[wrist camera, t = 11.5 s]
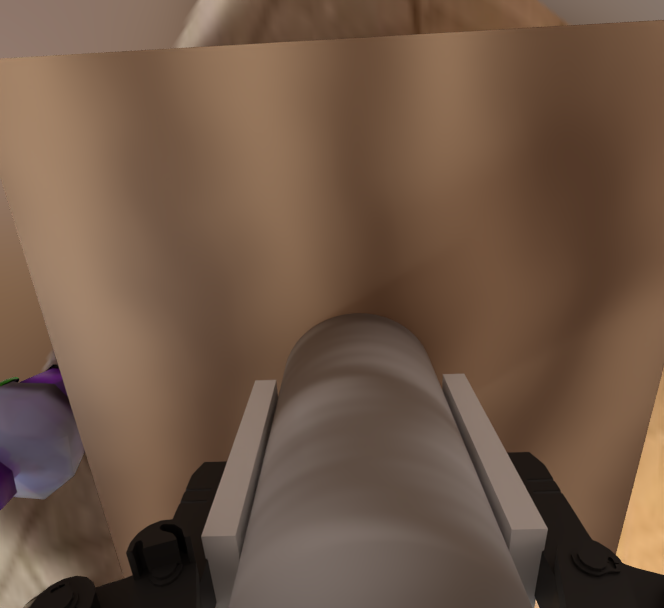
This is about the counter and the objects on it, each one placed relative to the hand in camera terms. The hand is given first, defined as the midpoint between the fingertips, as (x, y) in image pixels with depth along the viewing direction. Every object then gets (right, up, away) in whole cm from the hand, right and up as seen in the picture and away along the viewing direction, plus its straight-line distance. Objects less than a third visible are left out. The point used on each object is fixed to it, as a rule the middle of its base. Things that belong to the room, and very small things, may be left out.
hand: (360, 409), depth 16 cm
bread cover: (0, +5, +14) cm, 15 cm away
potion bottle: (-22, -3, +19) cm, 30 cm away
